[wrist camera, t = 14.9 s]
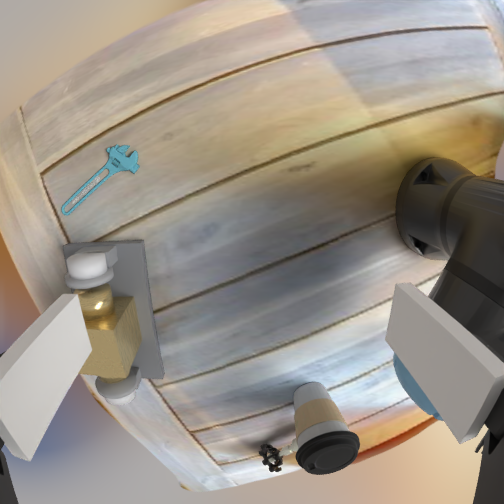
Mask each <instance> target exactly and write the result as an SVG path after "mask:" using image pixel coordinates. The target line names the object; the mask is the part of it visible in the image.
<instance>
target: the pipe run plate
mask: <svg viewBox="0 0 504 504" xmlns="http://www.w3.org/2000/svg"><path fill="white" fill-rule="evenodd" d="M63 250H64V256H65V262H66V267H67V272H68V273H66V275H65V276H64V278H65V283H66V285H67V286H68V287H70V288H71V291H72V294H73V293H74V291H75V290H76V289H87V288H92V287H96V286H100V285H102V284H105V283H107V284H109V285H110V287H111V292H112V297H134V299H135V305H136V310H137V316H138V321H139V326H140V331H141V336H142V342H141V344H140V346H139V349H138V351H137V354H136V356H135V358H134V361H133V363H132V365H131V368H130V374H129V376H128V377H127V378H126V379H125V380H123V381H121V382H118V383H113V384H108V383H104V382H102V381H100V380H99V379H98V377H97V379H96V382H95V385H96V388H97V391H98V392H99V394H100V395H102V396H103V397H105V399H106V401H107V402H108V403H110V404H112V405H125V404H127V403H129V402H131V401H132V400H133V399H134V398H135V396H136V391H135V389H138V387H139V384H140V381H141V378H147V379H163V377H164V374H165V373H164V369H163V364H162V359H161V354H160V349H159V343H158V338H157V332H156V327H155V321H154V315H153V308H152V302H151V295H150V288H149V281H148V274H147V266H146V258H145V249H144V240H132V241H109V242H87V243H68V244H66V245H64V246H63Z"/></svg>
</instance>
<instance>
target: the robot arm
mask: <svg viewBox="0 0 504 504" xmlns="http://www.w3.org/2000/svg"><path fill="white" fill-rule="evenodd" d="M396 220H397V226H398V229H399V232H400V235H401V237H402V239H403V240H404V242H405V243H406V244H407V246H408V247H409V248H410V249H412V250H413V251H414V252H416V253H418V254H419V255H421V256H423V257H425V258H428V259H431V260H448V262H447V264H446V266H445V268H444V269H443V271H442V273H441V275H440V277H439V279H438V280H437V282H436V284H435V286H434V287H433V289H432V291H431V292H430V294H429V296H426V295H425V294H424V293H423V292H421V291H420V290H419V289H418V288H416V287H415V286H414V285H413V284H411V283H401V284H396V285H395V291H394V297H393V302H392V308H391V313H390V318H389V323H388V328H387V333H386V338H385V340H386V342H387V343H388V344H389V346H390V347H391V348H392V350H393V351H394V356H393V362H394V367H395V372H396V375H397V377H398V379H399V381H400V383H401V385H402V387H403V388H404V390H405V391H406V392H407V394H408V395H409V396H410V398H411V399H412V400H413V401H414V402H415V403H416V404H417V405H418V406H419V407H420V408H421V409H422V410H423V411H424V412H426V413H427V414H429V415H433V416H434V417H435V418H436V419H438V420H441V421H444V422H445V423H446V424H447V426H448V427H449V429H450V430H451V432H452V433H453V435H454V436H455V437H456V439H457V441H458V442H459V444H461V443H463V442H466V441H468V440H470V439H472V438H474V437H476V436H477V435H478V433H479V431H480V430H481V428H482V426H483V425H484V424H485V425H486V426H487V428H488V431H487V433H486V434H485V436H484V437H483V439H482V440H481V442H480V443H479V445H478V447H477V448H476V451H475V452H476V453H478V451H479V450H480V448H481V447H482V446H483V445H484V446H483V451H482V460H481V467H480V472H479V477H478V483H477V487H476V492H475V497H474V501H473V504H504V181H503V180H498V179H493V178H487V177H481V176H476V175H475V174H473V173H472V172H470V171H469V170H468V169H466V168H465V167H463V166H462V165H460V164H459V163H457V162H455V161H453V160H450V159H445V158H429V159H426V160H423V161H421V162H419V163H418V164H416V165H415V166H414V167H413V168H412V169H411V170H410V171H409V172H408V174H407V175H406V177H405V178H404V180H403V182H402V184H401V186H400V189H399V192H398V196H397V202H396ZM91 351H92V347H91V344H90V340H89V337H88V333H87V330H86V326H85V322H84V319H83V315H82V311H81V307H80V302H79V298H78V294H62V295H61V296H60V297H59V298H58V299H57V300H56V301H55V302H54V303H53V304H52V305H51V306H50V307H49V308H48V309H47V310H46V311H45V312H44V313H43V314H42V315H41V316H40V317H39V318H38V319H37V320H36V321H35V322H34V323H33V324H32V325H31V326H30V327H29V328H28V329H27V330H26V331H25V332H24V333H23V334H22V335H21V336H20V337H19V338H18V339H17V340H16V341H15V342H14V343H13V344H12V345H11V347H10V348H9V349H8V350H7V351H5V352H3V353H2V354H0V504H18V501H17V497H16V494H15V491H14V488H13V485H12V481H11V478H10V474H9V470H8V466H7V462H6V458H5V455H4V453H3V452H2V451H1V448H2V447H3V445H4V444H5V445H6V446H7V448H8V449H9V451H10V452H11V453H12V454H13V456H16V457H19V458H21V459H24V460H27V461H31V459H32V457H33V455H34V453H35V451H36V449H37V447H38V445H39V443H40V441H41V439H42V437H43V435H44V433H45V431H46V429H47V428H48V426H49V424H50V422H51V420H52V418H53V416H54V415H55V413H56V411H57V409H58V407H59V406H60V404H61V402H62V400H63V398H64V397H65V395H66V393H67V391H68V390H69V388H70V386H71V385H72V383H73V381H74V379H75V378H76V376H77V374H78V373H79V371H80V369H81V368H82V366H83V364H84V363H85V361H86V359H87V358H88V356H89V354H90V353H91Z"/></svg>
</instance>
